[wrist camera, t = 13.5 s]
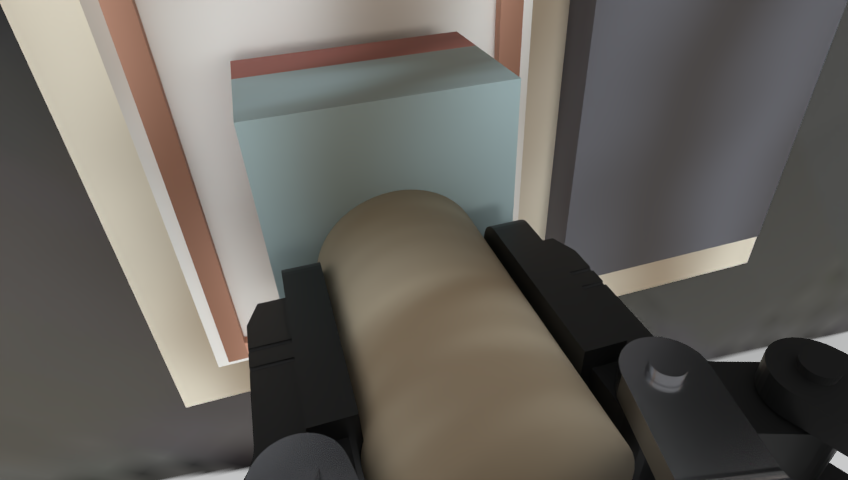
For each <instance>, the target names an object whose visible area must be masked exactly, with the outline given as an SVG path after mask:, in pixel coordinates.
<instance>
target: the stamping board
mask: <svg viewBox="0 0 848 480" xmlns="http://www.w3.org/2000/svg"><path fill="white" fill-rule="evenodd" d="M847 2H848V0H0V4H1V6H2V8H3V11H4V13H5V15H6V17H7V19H8V21H9V24H10V26H11V28H12V30H13V32H14V35H15V37H16V39H17V41H18V43H19V45H20V48H21V50H22V52H23V54H24V56H25V58H26V61H27V63H28V65H29V67H30V69H31V71H32V74H33V76H34V78H35V80H36V82H37V85H38V87H39V89H40V91H41V93H42V95H43V98H44V100H45V102H46V104H47V106H48V108H49V111H50V113H51V115H52V117H53V119H54V121H55V124H56V126H57V128H58V130H59V132H60V135H61V137H62V139H63V141H64V143H65V145H66V148H67V150H68V152H69V154H70V156H71V158H72V161H73V163H74V165H75V167H76V169H77V171H78V174H79V176H80V178H81V180H82V182H83V185H84V187H85V189H86V191H87V193H88V195H89V198H90V200H91V202H92V204H93V206H94V208H95V211H96V213H97V215H98V217H99V219H100V221H101V224H102V226H103V228H104V230H105V232H106V235H107V237H108V239H109V241H110V243H111V245H112V248H113V250H114V252H115V254H116V256H117V258H118V261H119V263H120V265H121V267H122V269H123V271H124V274H125V276H126V278H127V280H128V282H129V285H130V287H131V289H132V291H133V293H134V295H135V298H136V300H137V302H138V304H139V306H140V308H141V311H142V313H143V315H144V317H145V319H146V321H147V324H148V326H149V328H150V330H151V332H152V335H153V337H154V339H155V341H156V343H157V345H158V348H159V350H160V352H161V354H162V356H163V358H164V361H165V363H166V365H167V367H168V369H169V371H170V374H171V376H172V378H173V380H174V382H175V385H176V387H177V389H178V391H179V393H180V395H181V398H182V400H183V402H184V404H185V406H186V407H190V406H194V405H198V404H202V403H206V402H210V401H214V400H217V399H221V398H225V397H229V396H233V395H237V394H241V393H245V392H248V391H251V389H250V369H249V356H248V353H249V351H248V340H247V324H248V322H249V320H250V318H251V316H252V314H253V312H254V310H255V308H256V306H257V304H259V303H264V302H268V301H272V300H277V299H280V298H279V294H278V290H277V287H276V283H275V279H274V275H273V271H272V267H271V264H270V260H269V256H268V252H267V248H266V245H265V241H264V237H263V233H262V229H261V225H260V222H259V218H258V214H257V210H256V206H255V203H254V199H253V195H252V191H251V187H250V183H249V180H248V176H247V172H246V168H245V164H244V161H243V157H242V153H241V149H240V145H239V141H238V138H237V134H236V130H235V126H234V120H233V103H232V85H231V67H230V61H235V60H242V59H250V58H258V57H265V56H273V55H280V54H288V53H296V52H303V51H311V50H319V49H326V48H334V47H341V46H349V45H357V44H364V43H372V42H380V41H387V40H395V39H402V38H410V37H418V36H425V35H433V34H440V33H448V32H456V31H457V32H458V33H460V34H461V35H462V36H464V37H465V38H466V39H468V40H469V41H471V42H472V43H473V44H475V45H476V46H477V47H479V48H480V49H482V50H483V51H484V52H486V53H487V54H488V55H490V56H491V57H493V58H494V59H495V60H497V61H498V62H499V63H501V64H502V65H503V66H505V67H506V68H508V69H509V70H510V71H512V72H513V73H514V74H516V75H517V76H519V77H520V78H521V90H520V106H519V123H518V140H517V157H516V174H515V190H514V207H513V221H517V220H522V219H523V220H525V221H526V222H527V223H528V224H529V225H530V226H531V227H532V228H533V230H534V231H535V232H536V233H537V234H538V235H539V237H540V238H541V239H542V240H547V239H551V238H553V239H555V240H557V241H559V242H561V243H563V244H564V245H566V246H568V247H570V248H572V249H573V250H575V251H576V252H577V253H578V254H579V255H580V256H581V257H582V258H583V260H584V261H585V262H586V263H587V264H588V265H589V266H590V269H591V271H594V272H595V273H596V274H597V275H598V276H599V277H600V278H601V279H602V280H603V284H604V285H605V284H606V285H607V286H608V287H609V288H610V289H611V290H612V291H613V293H614V294H615V295H616V296H620V295H624V294H628V293H632V292H636V291H640V290H644V289H647V288H651V287H655V286H659V285H663V284H667V283H671V282H675V281H678V280H682V279H686V278H690V277H694V276H698V275H702V274H706V273H709V272H713V271H717V270H721V269H725V268H729V267H733V266H737V265H740V264H744V263H747V262H748V259H749V256H750V254H751V251H752V248H753V246H754V243H755V240H756V238H757V236H759V234H760V231H761V228H762V226H763V223H764V220H765V218H766V215H767V212H768V210H769V207H770V205H771V202H772V199H773V197H774V194H775V191H776V189H777V186H778V183H779V181H780V178H781V176H782V173H783V170H784V168H785V165H786V162H787V160H788V157H789V154H790V152H791V149H792V147H793V144H794V141H795V139H796V136H797V133H798V131H799V128H800V125H801V123H802V120H803V118H804V115H805V112H806V110H807V107H808V104H809V102H810V99H811V96H812V94H813V91H814V89H815V86H816V83H817V81H818V78H819V75H820V73H821V70H822V68H823V65H824V62H825V60H826V57H827V54H828V52H829V49H830V46H831V44H832V41H833V39H834V36H835V33H836V31H837V28H838V25H839V23H840V20H841V17H842V15H843V12H844V10H845V7H846V4H847Z"/></svg>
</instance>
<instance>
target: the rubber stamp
mask: <svg viewBox="0 0 848 480" xmlns="http://www.w3.org/2000/svg"><path fill="white" fill-rule="evenodd" d="M230 67H231V85H232V103H233V120H234V126H235V130H236V134H237V138H238V141H239V145H240V149H241V153H242V157H243V161H244V164H245V168H246V172H247V176H248V180H249V183H250V187H251V191H252V195H253V199H254V203H255V206H256V210H257V214H258V218H259V222H260V225H261V229H262V233H263V237H264V241H265V245H266V248H267V252H268V256H269V260H270V264H271V267H272V271H273V275H274V279H275V283H276V287H277V290H278V294H279V298H280V299H281V298H285V293H284V286H283V280H282V273H281V270H285V269H290V268H294V267H299V266H304V265H308V264H313V263H318V262H320V263H321V267H322V271H323V275H324V279H325V283H326V287H327V291H328V295H329V298H330V302H331V306H332V310H333V314H334V318H335V322H336V326H337V330H338V334H339V338H340V342H341V346H342V350H343V354H344V358H345V362H346V366H347V369H348V373H349V377H350V381H351V385H352V389H353V393H354V397H355V401H356V405H357V409H358V413H359V418H360V424H361V429H362V435H363V444H362V450H361V467H362V471H363V475H364V479H365V480H632V479H633V474H634V470H635V460H634V456H633V452H632V450H631V449H630V447H629V445H628V444H627V442H626V441H625V439H624V438H623V437H622V435H621V434H620V432H619V431H618V429H617V428H616V427H615V425H614V424H613V422H612V421H611V419H610V418H609V417H608V415H607V414H606V412H605V411H604V409H603V408H602V407H601V405H600V404H599V402H598V401H597V399H596V398H595V397H594V395H593V394H592V392H591V391H590V389H589V388H588V386H587V385H586V384H585V382H584V381H583V379H582V378H581V376H580V375H579V374H578V372H577V371H576V369H575V368H574V366H573V365H572V364H571V362H570V361H569V359H568V358H567V356H566V355H565V354H564V352H563V351H562V349H561V348H560V346H559V345H558V343H557V342H556V341H555V339H554V338H553V336H552V335H551V333H550V332H549V331H548V329H547V328H546V326H545V325H544V323H543V322H542V321H541V319H540V318H539V316H538V315H537V313H536V312H535V311H534V309H533V308H532V306H531V305H530V303H529V302H528V301H527V299H526V298H525V296H524V295H523V293H522V292H521V290H520V289H519V288H518V286H517V285H516V283H515V282H514V280H513V279H512V278H511V276H510V275H509V273H508V272H507V270H506V269H505V268H504V266H503V265H502V263H501V262H500V260H499V259H498V258H497V256H496V255H495V253H494V252H493V250H492V249H491V248H490V246H489V245H488V243H487V242H486V240H485V239H484V233H485V229H486V228H487V227H488V226H493V225H498V224H503V223H507V222H512V221H513V207H514V190H515V174H516V157H517V140H518V123H519V106H520V90H521V78H520V77H519V76H517V75H516V74H514V73H513V72H512V71H510V70H509V69H508V68H506V67H505V66H503V65H502V64H501V63H499V62H498V61H497V60H495V59H494V58H493V57H491V56H490V55H488V54H487V53H486V52H484V51H483V50H482V49H480V48H479V47H477V46H476V45H475V44H473V43H472V42H471V41H469V40H468V39H466V38H465V37H464V36H462V35H461V34H460V33H458V32H457V31H456V32H448V33H440V34H433V35H425V36H418V37H410V38H402V39H395V40H387V41H380V42H372V43H364V44H357V45H349V46H341V47H334V48H326V49H319V50H311V51H303V52H296V53H288V54H280V55H273V56H265V57H258V58H250V59H242V60H235V61H230Z"/></svg>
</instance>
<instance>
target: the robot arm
mask: <svg viewBox="0 0 848 480" xmlns="http://www.w3.org/2000/svg"><path fill="white" fill-rule="evenodd" d="M484 239H485V240H486V242H487V243H488V245H489V246H490V248H491V249H492V250H493V252H494V253H495V255H496V256H497V258H498V259H499V260H500V262H501V263H502V265H503V266H504V268H505V269H506V270H507V272H508V273H509V275H510V276H511V278H512V279H513V280H514V282H515V283H516V285H517V286H518V288H519V289H520V290H521V292H522V293H523V295H524V296H525V298H526V299H527V301H528V302H529V303H530V305H531V306H532V308H533V309H534V311H535V312H536V313H537V315H538V316H539V318H540V319H541V321H542V322H543V323H544V325H545V326H546V328H547V329H548V331H549V332H550V333H551V335H552V336H553V338H554V339H555V341H556V342H557V343H558V345H559V346H560V348H561V349H562V351H563V352H564V354H565V355H566V356H567V358H568V359H569V361H570V362H571V364H572V365H573V366H574V368H575V369H576V371H577V372H578V374H579V375H580V376H581V378H582V379H583V381H584V382H585V384H586V385H587V386H588V388H589V389H590V391H591V392H592V394H593V395H594V397H595V398H596V399H597V401H598V402H599V404H600V405H601V407H602V408H603V409H604V411H605V412H606V414H607V415H608V417H609V418H610V419H611V421H612V422H613V424H614V425H615V427H616V428H617V429H618V431H619V432H620V434H621V435H622V437H623V438H624V439H625V441H626V442H627V444H628V445H629V447H630V449H631V450H632V452H633V456H634V460H635V470H634V474H633V479H632V480H848V474H847V473H845V472H843V471H842V470H840V469H839V468H837V467H835V466H834V465H832V464H831V463H829V462H830V460H831V459H832V457H833V456H834V454H835V453H836V451H839V452H841V453H843V454H844V455H846V456H848V354H846V353H844V352H842V351H840V350H838V349H836V348H833V347H831V346H829V345H827V344H824V343H821V342H818V341H814V340H810V339H804V338H784V339H780V340H777V341H775V342H773V343H772V344H770V345H769V346H768V348H767V349H766V351H765V353H764V355H763V358H762V360H761V362H713V361H707V360H706V359H705V358H704V357H703V356H702V355H701V354H700V353H698V352H697V351H695V350H694V349H693V348H691V347H689V346H687V345H685V344H683V343H681V342H678V341H675V340H672V339H668V338H663V337H654V336H653V335H652V334H651V333H650V332H649V331H648V330H647V329H646V328H645V327H644V326H643V324H642V323H641V322H640V321H639V320H638V319H637V318H636V317H635V316H634V315H633V313H632V312H631V311H630V310H629V309H628V308H627V307H626V306H625V305H624V304H623V302H622V301H621V300H620V299H619V298H618V297H617V296H616V295H615V294H614V293H613V291H612V290H611V289H610V288H609V287H608V286H607V285H606V284H605V285H604V284H603V280H602V279H601V278H600V277H599V276H598V275H597V274H596V273H595V272H594V271H591V269H590V266H589V265H588V264H587V263H586V262H585V261H584V260H583V258H582V257H581V256H580V255H579V254H578V253H577V252H576V251H575V250H573V249H572V248H570V247H568V246H566V245H564V244H563V243H561V242H559V241H557V240H555V239H553V238H551V239H547V240H542V239H541V238H540V237H539V235H538V234H537V233H536V232H535V231H534V230H533V228H532V227H531V226H530V225H529V224H528V223H527V222H526V221H525V220H523V219H522V220H517V221H512V222H507V223H503V224H498V225H493V226H488V227H487V228H486V229H485V233H484ZM281 273H282V280H283V286H284V293H285V298H281V299H277V300H272V301H268V302H264V303H259V304H257V306H256V308H255V310H254V312H253V314H252V316H251V318H250V320H249V322H248V324H247V340H248V351H249V353H248V356H249V369H250V389H251V405H252V422H253V438H254V454H253V459H252V463H251V466H250V468H249V471H248V473H247V475H246V477H245V478H244V480H365V479H364V475H363V471H362V467H361V450H362V444H363V435H362V429H361V424H360V418H359V413H358V409H357V405H356V401H355V397H354V393H353V389H352V385H351V381H350V377H349V373H348V369H347V366H346V362H345V358H344V354H343V350H342V346H341V342H340V338H339V334H338V330H337V326H336V322H335V318H334V314H333V310H332V306H331V302H330V298H329V295H328V291H327V287H326V283H325V279H324V275H323V271H322V267H321V263H320V262H318V263H313V264H308V265H304V266H299V267H294V268H290V269H285V270H281Z"/></svg>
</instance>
